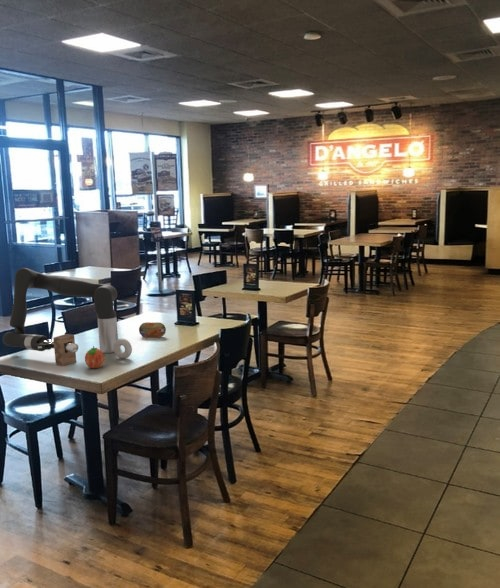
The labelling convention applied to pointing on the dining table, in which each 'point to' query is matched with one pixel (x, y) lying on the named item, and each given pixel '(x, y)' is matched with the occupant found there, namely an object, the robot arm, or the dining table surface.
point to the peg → (71, 347)
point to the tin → (152, 329)
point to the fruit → (94, 358)
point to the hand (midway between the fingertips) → (61, 346)
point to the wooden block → (60, 353)
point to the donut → (126, 345)
